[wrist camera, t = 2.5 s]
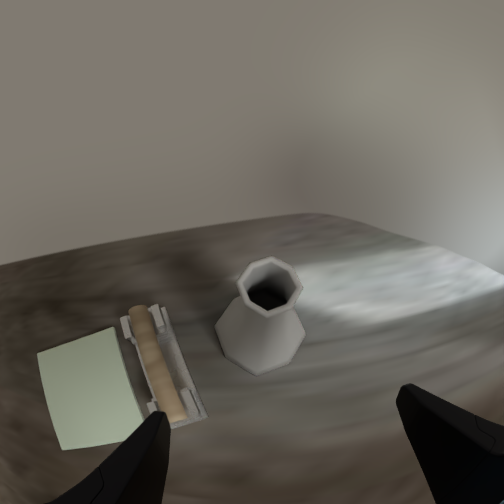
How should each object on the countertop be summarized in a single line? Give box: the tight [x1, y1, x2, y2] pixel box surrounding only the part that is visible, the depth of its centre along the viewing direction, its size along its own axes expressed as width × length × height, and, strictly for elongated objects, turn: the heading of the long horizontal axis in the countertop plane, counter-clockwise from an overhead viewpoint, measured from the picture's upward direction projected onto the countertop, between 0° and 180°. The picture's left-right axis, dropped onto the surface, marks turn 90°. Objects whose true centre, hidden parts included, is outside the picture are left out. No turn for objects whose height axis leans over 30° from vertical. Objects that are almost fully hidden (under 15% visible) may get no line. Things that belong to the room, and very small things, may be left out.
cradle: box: [120, 304, 209, 429], centre depth 19 cm, size 10×4×3 cm, turn 24°
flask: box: [214, 255, 306, 376], centre depth 18 cm, size 7×7×10 cm
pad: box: [37, 327, 144, 450], centre depth 18 cm, size 10×10×1 cm
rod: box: [128, 305, 188, 423], centre depth 18 cm, size 9×2×2 cm, turn 24°
